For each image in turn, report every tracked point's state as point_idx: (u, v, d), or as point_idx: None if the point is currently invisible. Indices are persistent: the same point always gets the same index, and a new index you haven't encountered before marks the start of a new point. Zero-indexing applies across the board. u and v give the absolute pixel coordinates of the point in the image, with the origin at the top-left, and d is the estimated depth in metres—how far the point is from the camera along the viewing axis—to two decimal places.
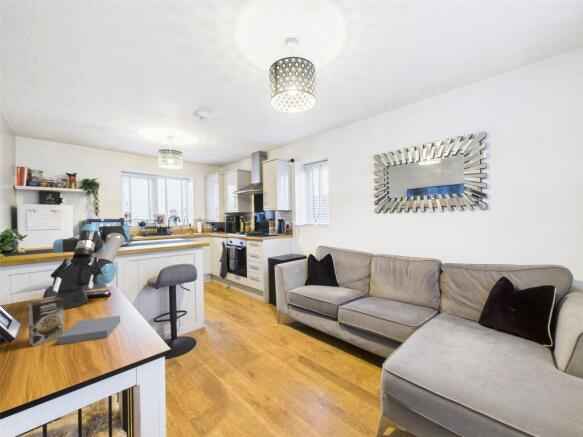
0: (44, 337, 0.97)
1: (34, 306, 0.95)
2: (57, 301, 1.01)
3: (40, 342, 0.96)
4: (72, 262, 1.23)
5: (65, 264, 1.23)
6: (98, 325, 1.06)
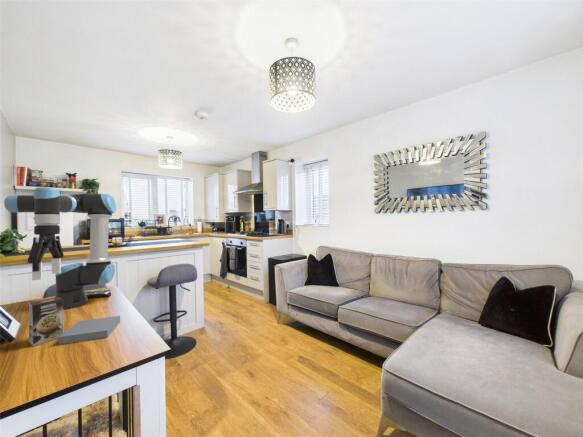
0: (44, 337, 0.97)
1: (34, 306, 0.95)
2: (57, 301, 1.01)
3: (40, 342, 0.96)
4: None
5: None
6: (98, 325, 1.06)
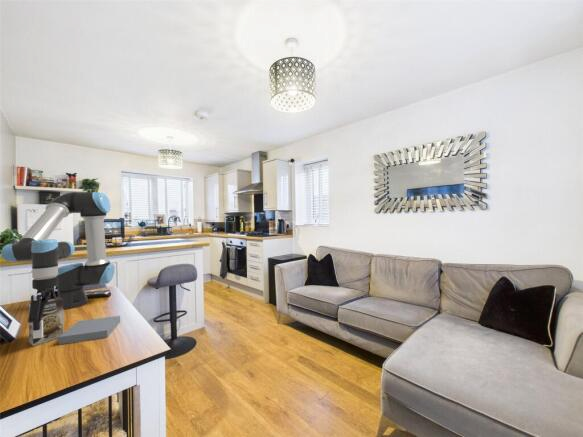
0: (44, 337, 0.97)
1: None
2: (57, 301, 1.00)
3: (40, 342, 0.96)
4: None
5: None
6: (98, 325, 1.06)
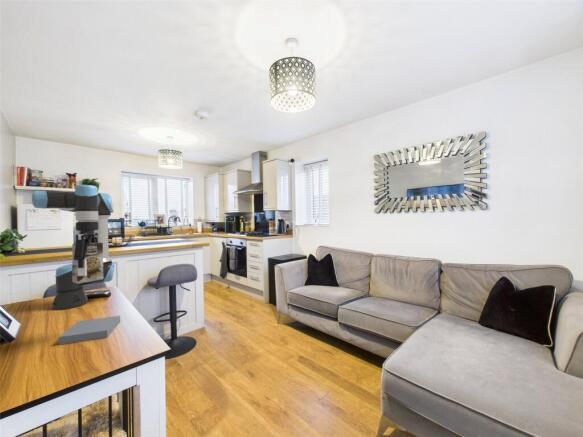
0: (87, 276, 1.02)
1: None
2: (98, 244, 1.06)
3: (83, 281, 1.01)
4: None
5: None
6: (98, 325, 1.06)
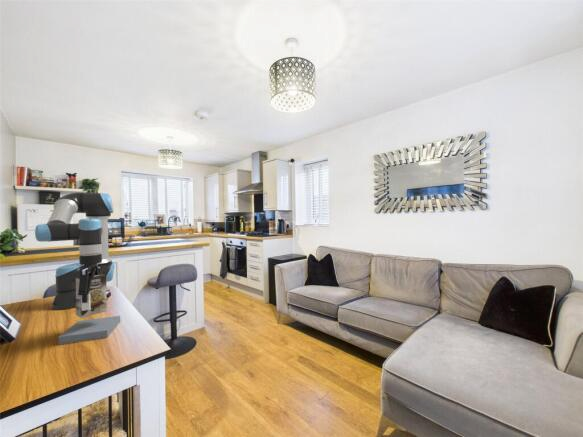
0: (90, 310, 1.03)
1: None
2: (101, 277, 1.06)
3: (87, 314, 1.02)
4: None
5: None
6: (98, 325, 1.06)
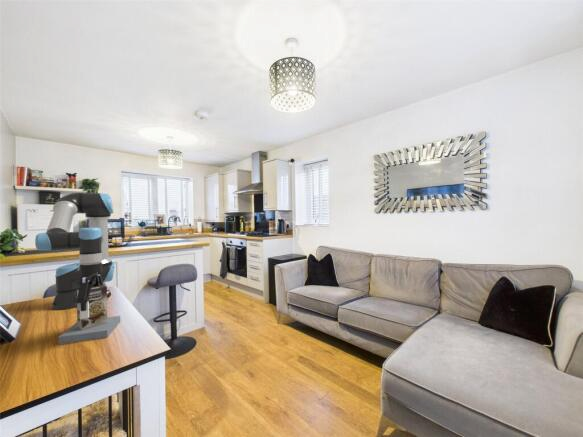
0: (91, 322, 1.04)
1: None
2: (102, 288, 1.07)
3: (88, 326, 1.03)
4: None
5: None
6: (98, 325, 1.06)
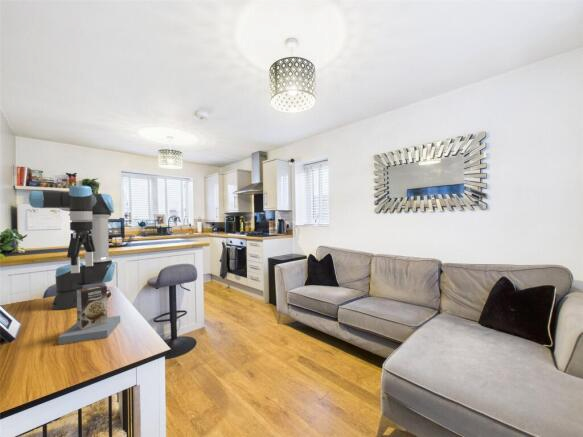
0: (91, 322, 1.04)
1: (83, 292, 1.01)
2: (102, 288, 1.07)
3: (88, 326, 1.03)
4: None
5: None
6: (98, 325, 1.06)
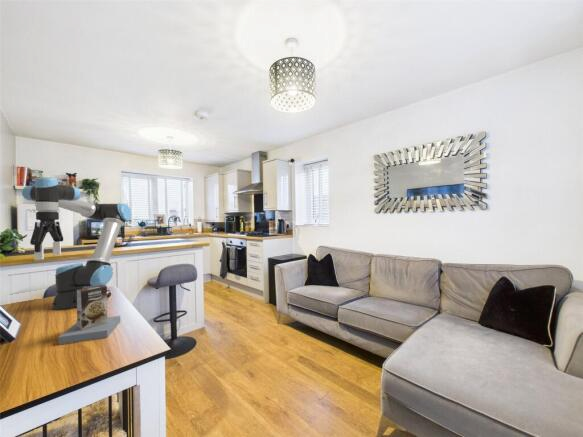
0: (91, 322, 1.04)
1: (83, 292, 1.01)
2: (102, 288, 1.07)
3: (88, 326, 1.03)
4: None
5: None
6: (98, 325, 1.06)
